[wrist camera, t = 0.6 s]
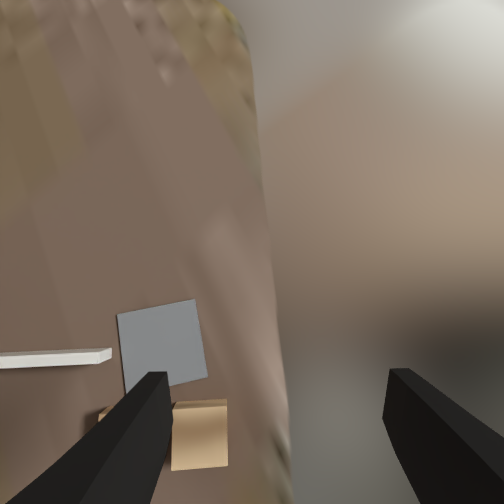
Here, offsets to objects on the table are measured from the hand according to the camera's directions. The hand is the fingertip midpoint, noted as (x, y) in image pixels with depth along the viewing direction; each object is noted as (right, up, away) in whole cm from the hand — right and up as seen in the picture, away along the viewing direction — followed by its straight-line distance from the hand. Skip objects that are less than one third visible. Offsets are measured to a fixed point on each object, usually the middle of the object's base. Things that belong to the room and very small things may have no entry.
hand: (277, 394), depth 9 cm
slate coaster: (-10, -5, +21) cm, 24 cm away
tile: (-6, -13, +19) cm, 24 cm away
